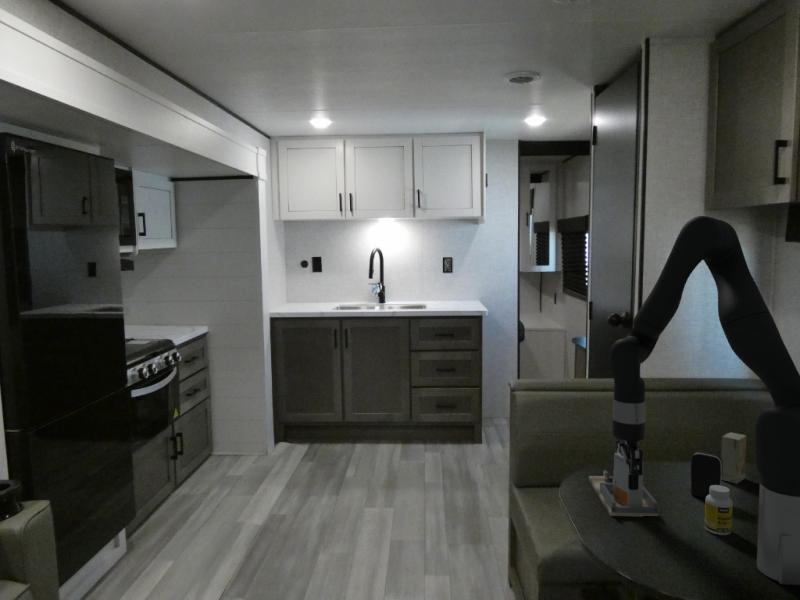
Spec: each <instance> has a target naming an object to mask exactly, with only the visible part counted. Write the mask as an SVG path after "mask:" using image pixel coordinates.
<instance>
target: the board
mask: <svg viewBox="0 0 800 600" xmlns="http://www.w3.org/2000/svg"><path fill="white" fill-rule="evenodd" d="M611 476H612V477H613V475H611ZM588 480H589V482H590V484H591V486H592V487H593V489H594V491H595V492H596V494H597V495H598V497H599V499H600V501H601V502H602V504H603V506H604V507H605V509H606V511H607V512H608V514H609V516H610V517H643V516H658V517H659V511H657V513H619V512H612V511H611V509H610V508H609V506H608V504H607V503H606V501H605V500H604V498H603V496H602V495H601V493H600V483H611V482H610V481H609V479H608V482H605V481H604V480H603V475H589V476H588ZM611 496H612V497H613V496H614V494H611ZM613 499H614V498H613ZM614 500H615V499H614ZM615 502H616V506H624V505H623V504H621V503H620V502H618V501H617V500H615ZM641 507H649V506H648V505H647V504H646V502H645V501H644V500H643V506H641Z"/></svg>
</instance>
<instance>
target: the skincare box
mask: <svg viewBox="0 0 800 600" xmlns="http://www.w3.org/2000/svg"><path fill="white" fill-rule="evenodd" d="M613 454H614V456H613V458H614V459H613V471H614V496H613V498H614V499H615V500H617V501H618V502H620V503H621V504H623V505H624V506H634V507H641V506H643V486H644V474H643V475H639V483H638V490H630V489H629V488H628V468H627V466H626V465H625V463H624V457H623V454H622V453H621V452H619V453H615V452H614V453H613ZM628 461H629V462H630V459H628ZM643 462H645V461H644V459H643ZM634 470H636V467H635V466H634Z"/></svg>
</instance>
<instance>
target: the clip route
mask: <svg viewBox="0 0 800 600" xmlns="http://www.w3.org/2000/svg"><path fill="white" fill-rule="evenodd" d="M602 472H603V475H602V476H603V480H604V481H605V482H608V479H609V481H610V482H611V483H614V470H613V472H612V473H613V474H612V475H611V473H610V472H608V471H607V470H604V469H603V471H602ZM612 476H613V477H612Z"/></svg>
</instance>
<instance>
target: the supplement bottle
mask: <svg viewBox="0 0 800 600" xmlns="http://www.w3.org/2000/svg"><path fill="white" fill-rule="evenodd" d="M730 492H731V489H729V488H728V487H726V486H724V485H721V486H720V485H711V486H710V489H709V493H710V494H709V495H707V496H706V499H705V501H704V502H705V503H704V505H705V506H704V526H703V527H704V528H705V530H706V531H708V532H709V533H712V534H715V535H717V534H718V536H728V535H730V534H731V533H732V531H733V530H732V527H733V526H732V525H733V509H734V508H733V506H734V504H733V500H732V499H731V498H730V495H731V494H730Z"/></svg>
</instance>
